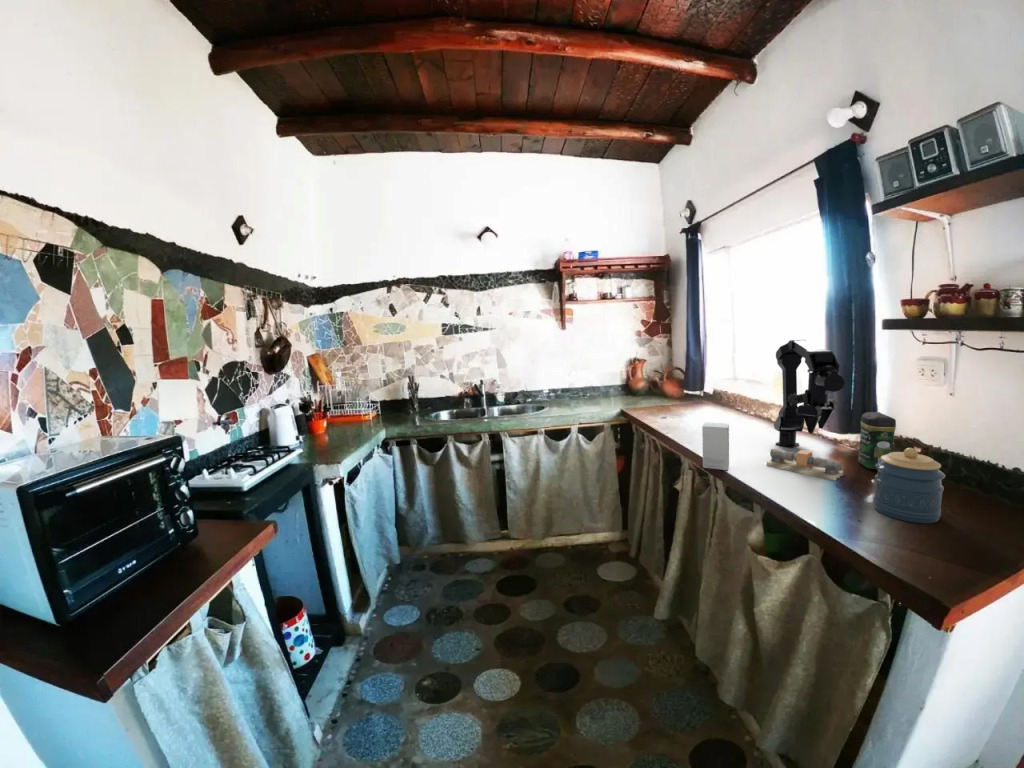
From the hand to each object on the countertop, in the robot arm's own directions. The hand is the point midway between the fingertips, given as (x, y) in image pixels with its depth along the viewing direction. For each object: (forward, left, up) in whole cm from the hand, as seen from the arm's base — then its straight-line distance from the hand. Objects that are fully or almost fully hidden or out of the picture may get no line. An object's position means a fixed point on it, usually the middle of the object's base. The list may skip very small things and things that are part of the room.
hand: (815, 430), depth 145 cm
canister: (+25, +29, -12) cm, 40 cm away
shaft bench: (+9, 0, -12) cm, 15 cm away
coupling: (+9, 0, -11) cm, 14 cm away
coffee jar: (-11, +14, -12) cm, 22 cm away
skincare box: (+27, -21, -12) cm, 36 cm away
